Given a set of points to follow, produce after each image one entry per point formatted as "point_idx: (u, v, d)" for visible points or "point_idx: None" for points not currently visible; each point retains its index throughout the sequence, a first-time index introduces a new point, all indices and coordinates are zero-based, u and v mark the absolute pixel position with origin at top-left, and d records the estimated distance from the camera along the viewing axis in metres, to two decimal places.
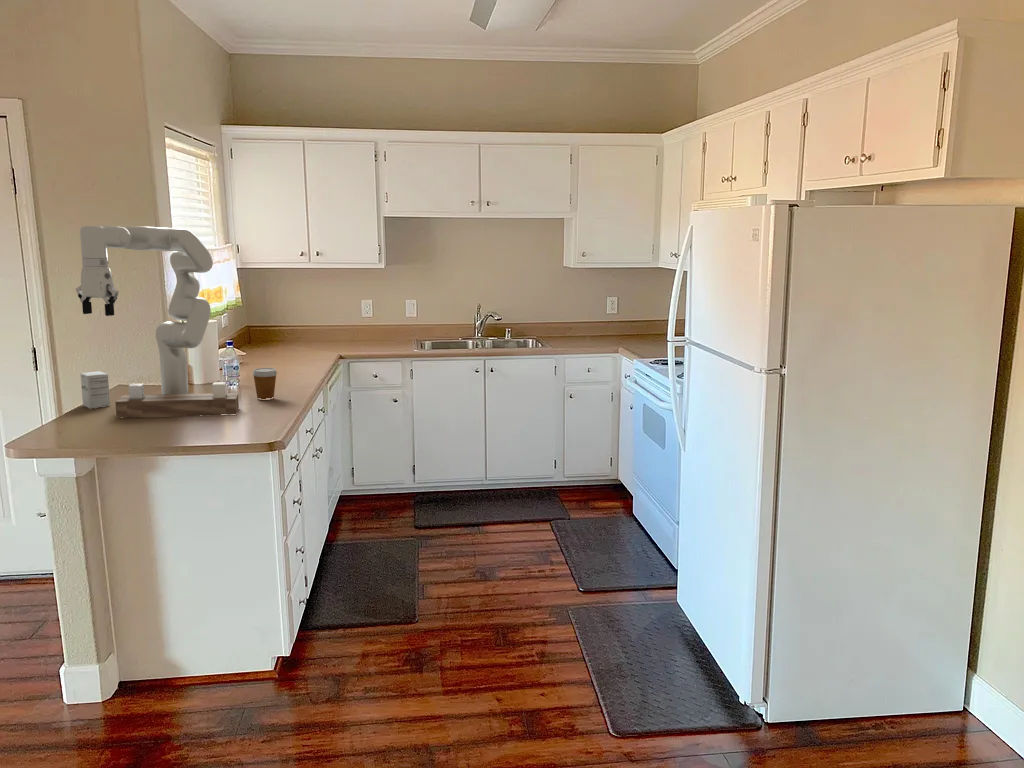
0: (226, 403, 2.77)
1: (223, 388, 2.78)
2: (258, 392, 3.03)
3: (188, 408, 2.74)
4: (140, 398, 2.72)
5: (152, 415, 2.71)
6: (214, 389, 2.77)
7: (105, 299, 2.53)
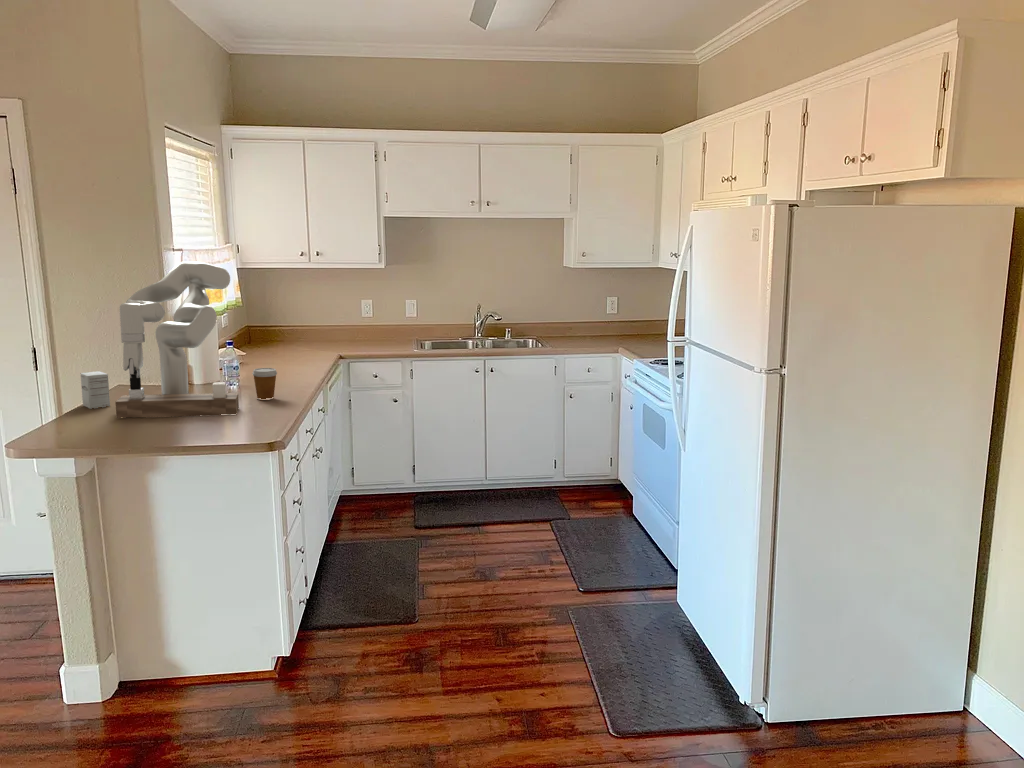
0: (226, 403, 2.77)
1: (223, 388, 2.78)
2: (258, 392, 3.03)
3: (188, 408, 2.74)
4: None
5: (152, 415, 2.71)
6: (214, 389, 2.77)
7: (139, 372, 2.73)
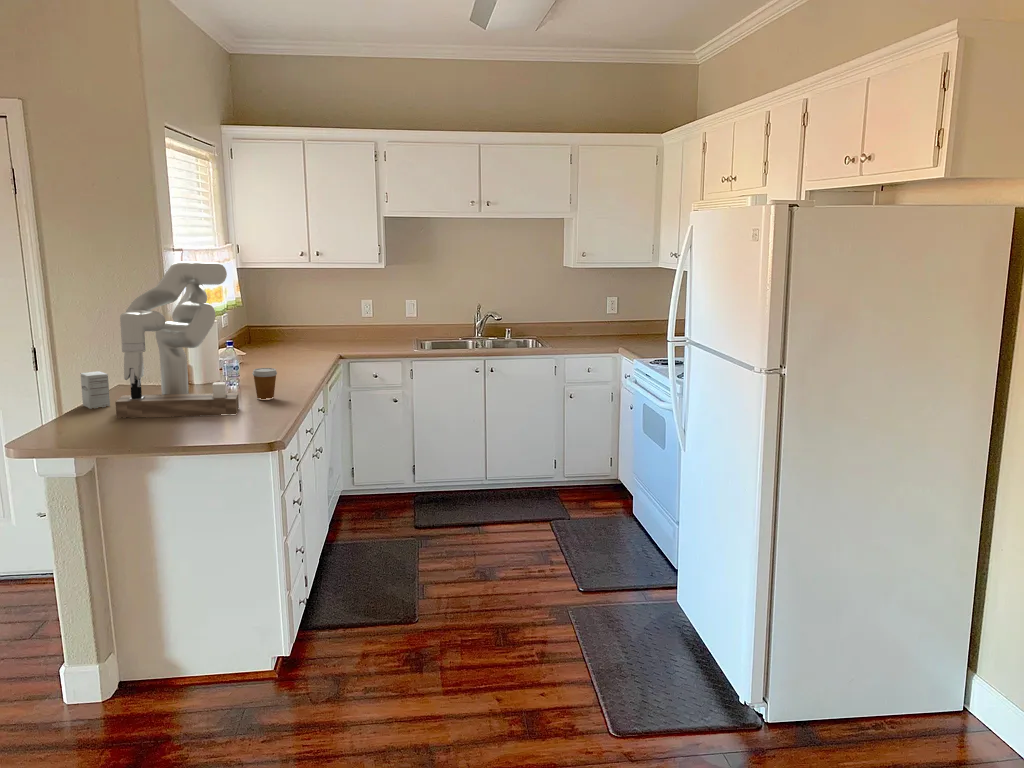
0: (226, 403, 2.77)
1: (223, 388, 2.78)
2: (258, 392, 3.03)
3: (188, 408, 2.74)
4: None
5: (152, 415, 2.71)
6: (214, 389, 2.77)
7: (140, 381, 2.74)
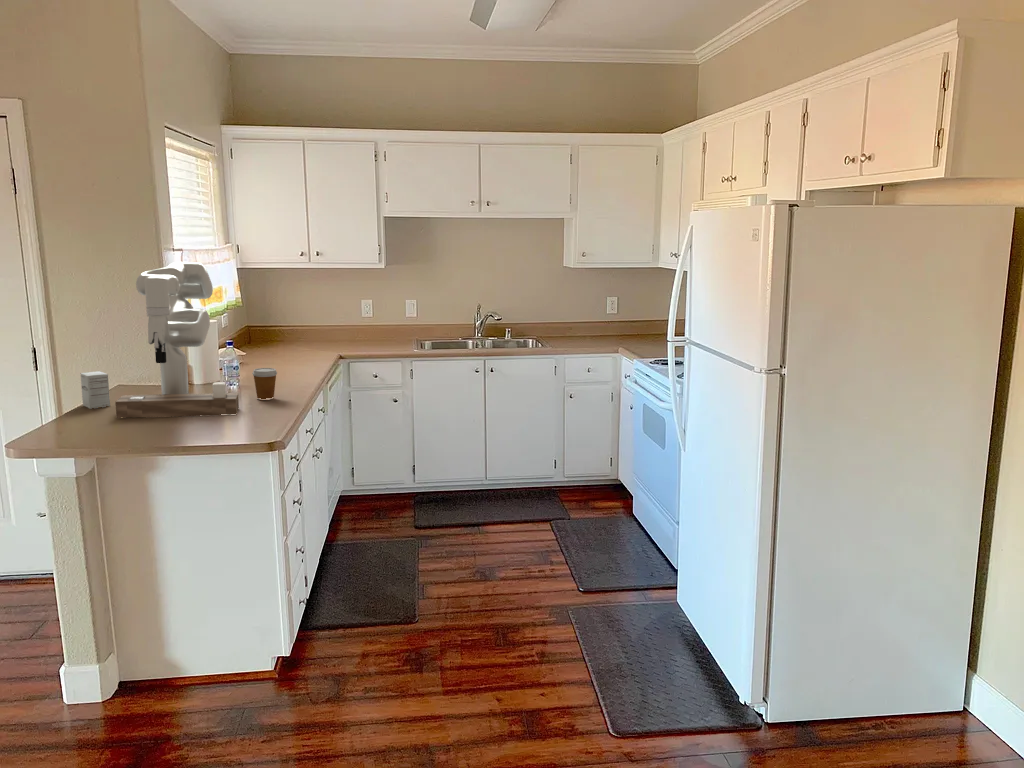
0: (226, 403, 2.77)
1: (223, 388, 2.78)
2: (258, 392, 3.03)
3: (188, 408, 2.74)
4: None
5: (152, 415, 2.71)
6: (214, 389, 2.77)
7: (165, 346, 2.73)
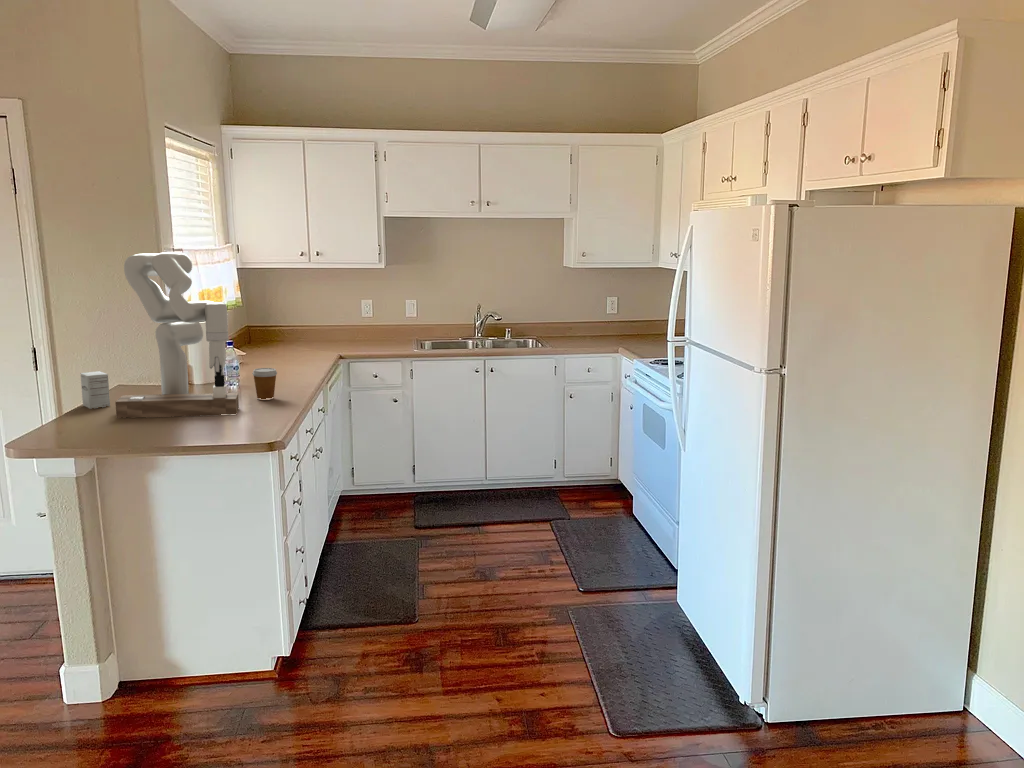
0: (226, 403, 2.77)
1: (223, 391, 2.78)
2: (258, 392, 3.03)
3: (188, 408, 2.74)
4: None
5: (152, 415, 2.71)
6: (214, 392, 2.78)
7: (223, 370, 2.80)
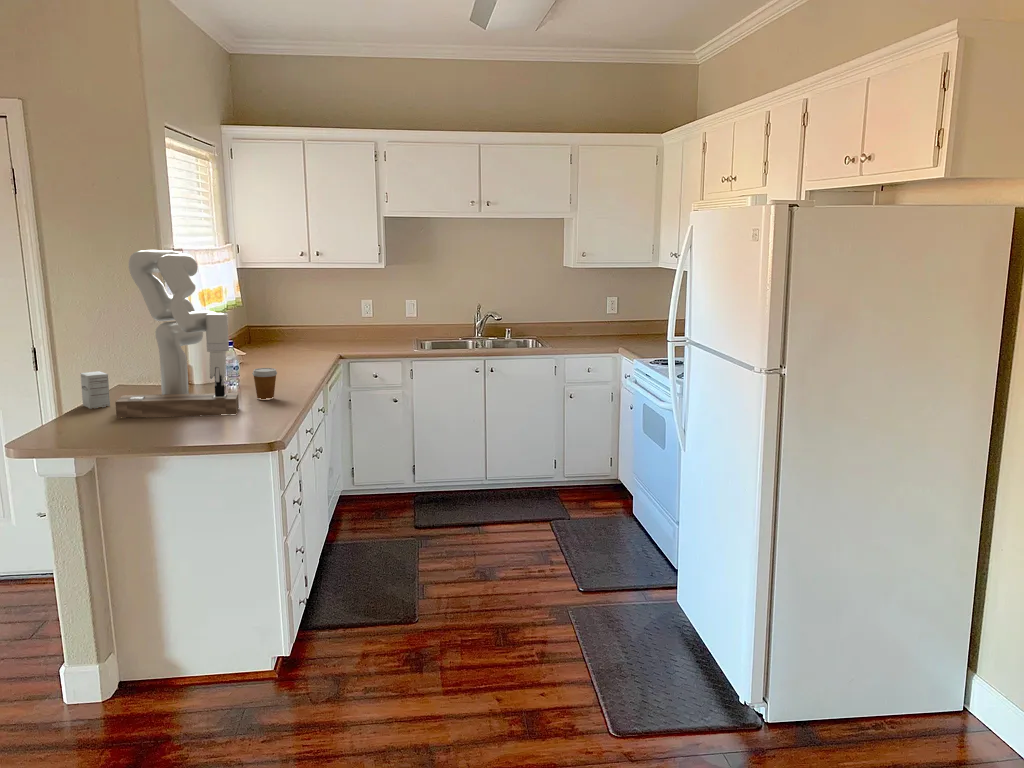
0: (226, 403, 2.77)
1: None
2: (258, 392, 3.03)
3: (188, 408, 2.74)
4: None
5: (152, 415, 2.71)
6: None
7: (223, 380, 2.81)
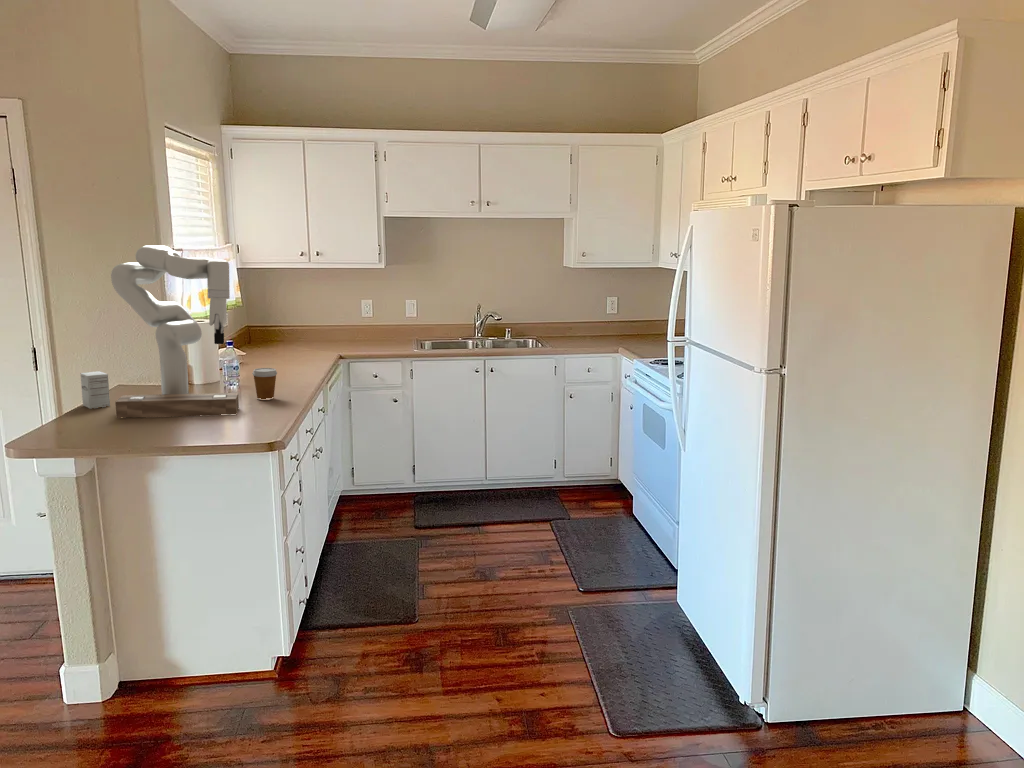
0: (226, 403, 2.77)
1: None
2: (258, 392, 3.03)
3: (188, 408, 2.74)
4: None
5: (152, 415, 2.71)
6: None
7: (223, 328, 2.81)
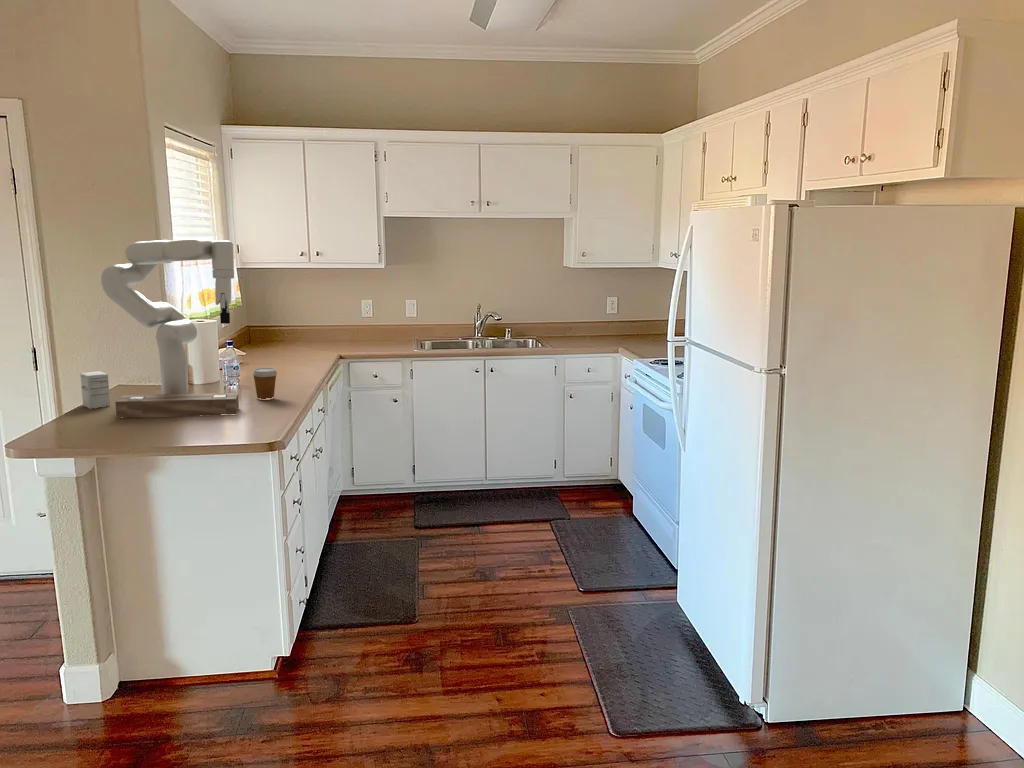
0: (226, 403, 2.77)
1: None
2: (258, 392, 3.03)
3: (188, 408, 2.74)
4: None
5: (152, 415, 2.71)
6: None
7: (228, 307, 2.86)
